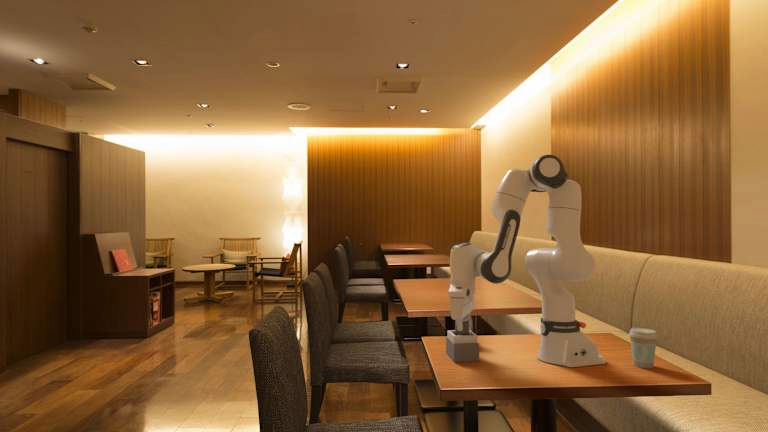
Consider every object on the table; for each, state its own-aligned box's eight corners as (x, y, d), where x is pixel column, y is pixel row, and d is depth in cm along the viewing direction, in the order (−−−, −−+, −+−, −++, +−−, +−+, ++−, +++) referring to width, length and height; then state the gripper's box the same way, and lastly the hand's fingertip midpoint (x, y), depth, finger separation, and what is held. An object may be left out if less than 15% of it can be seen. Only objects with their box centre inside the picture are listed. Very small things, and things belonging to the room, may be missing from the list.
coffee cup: (623, 362, 162) (623, 327, 162) (647, 361, 163) (647, 327, 163) (639, 370, 154) (639, 333, 154) (663, 369, 155) (663, 333, 155)
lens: (457, 337, 172) (457, 316, 172) (470, 339, 170) (470, 317, 170) (453, 340, 167) (453, 319, 167) (467, 342, 165) (467, 320, 165)
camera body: (469, 352, 174) (469, 329, 174) (479, 361, 163) (479, 336, 163) (446, 352, 173) (446, 329, 173) (453, 361, 162) (453, 337, 162)
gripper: (461, 283, 179) (461, 320, 179) (446, 292, 160) (447, 333, 160) (477, 284, 176) (478, 321, 176) (464, 293, 158) (465, 334, 158)
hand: (463, 327), depth 168 cm, fingers open, 8 cm apart
